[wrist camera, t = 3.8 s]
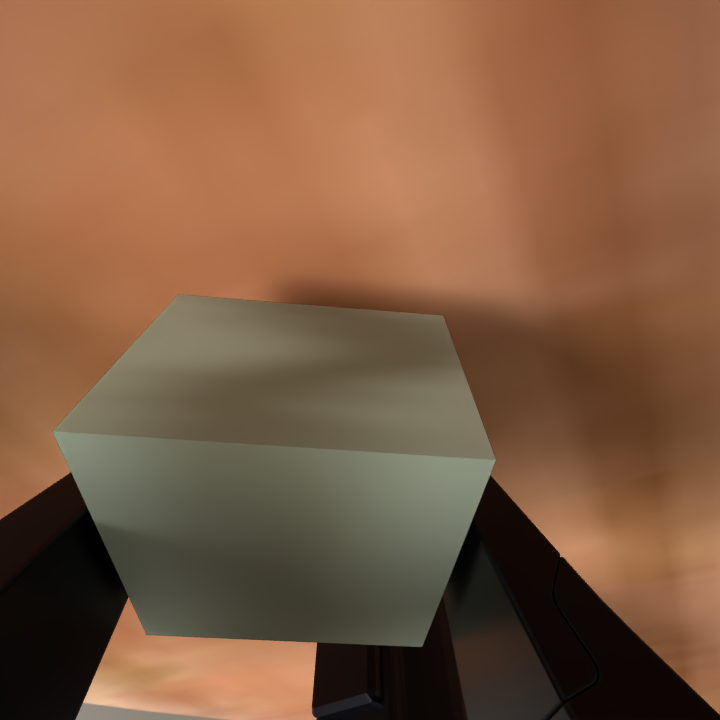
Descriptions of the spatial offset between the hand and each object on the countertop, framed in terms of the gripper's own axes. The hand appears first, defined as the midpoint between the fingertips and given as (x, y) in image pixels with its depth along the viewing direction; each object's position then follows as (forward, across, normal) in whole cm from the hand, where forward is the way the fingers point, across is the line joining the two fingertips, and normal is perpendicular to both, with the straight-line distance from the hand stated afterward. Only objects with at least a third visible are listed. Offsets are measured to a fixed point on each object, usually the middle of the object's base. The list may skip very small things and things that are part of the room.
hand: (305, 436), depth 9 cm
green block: (+1, 0, 0) cm, 1 cm away
